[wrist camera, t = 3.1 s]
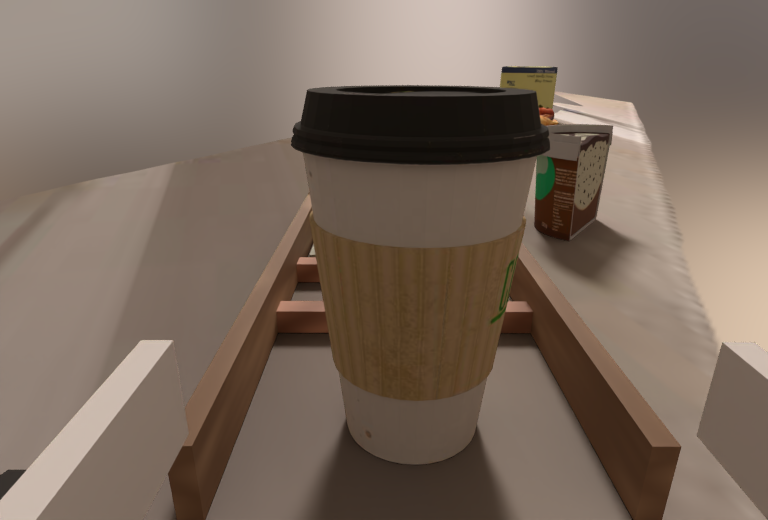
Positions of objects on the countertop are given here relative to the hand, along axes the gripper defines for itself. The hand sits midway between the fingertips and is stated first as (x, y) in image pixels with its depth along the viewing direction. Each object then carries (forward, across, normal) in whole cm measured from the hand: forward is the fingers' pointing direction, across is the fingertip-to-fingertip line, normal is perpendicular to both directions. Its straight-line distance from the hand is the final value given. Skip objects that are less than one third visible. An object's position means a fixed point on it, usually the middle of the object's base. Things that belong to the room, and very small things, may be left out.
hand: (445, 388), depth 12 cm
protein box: (+148, +40, -9) cm, 153 cm away
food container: (+42, +17, -9) cm, 46 cm away
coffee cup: (+10, 0, -9) cm, 13 cm away
